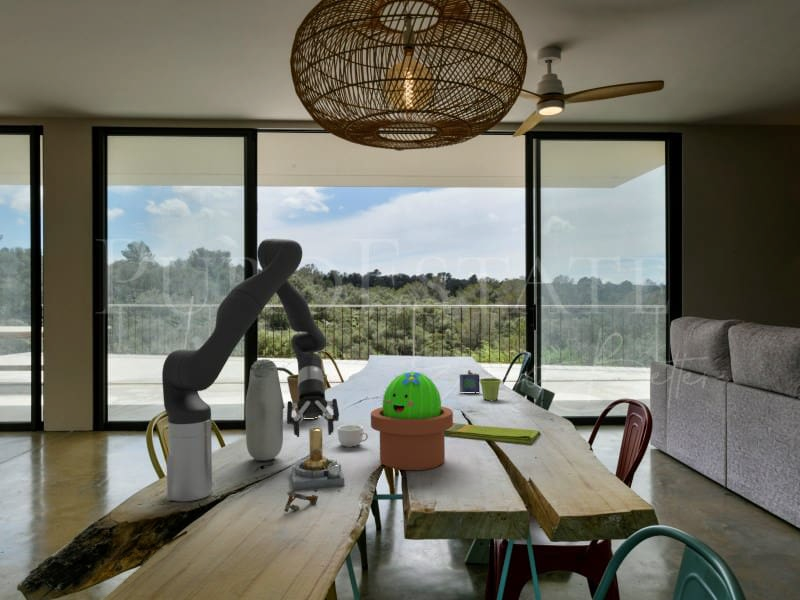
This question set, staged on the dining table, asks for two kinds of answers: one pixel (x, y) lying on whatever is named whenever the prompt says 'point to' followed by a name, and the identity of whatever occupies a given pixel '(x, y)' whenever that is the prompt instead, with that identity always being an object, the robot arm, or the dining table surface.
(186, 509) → the dining table surface
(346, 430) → the teacup
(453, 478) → the dining table surface
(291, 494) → the brown thin angular piece
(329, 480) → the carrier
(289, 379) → the plant pot
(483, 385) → the plant pot
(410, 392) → the potted cactus
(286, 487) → the dining table surface
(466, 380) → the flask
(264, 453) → the white rounded cylinder
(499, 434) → the dish towel
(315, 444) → the gear
